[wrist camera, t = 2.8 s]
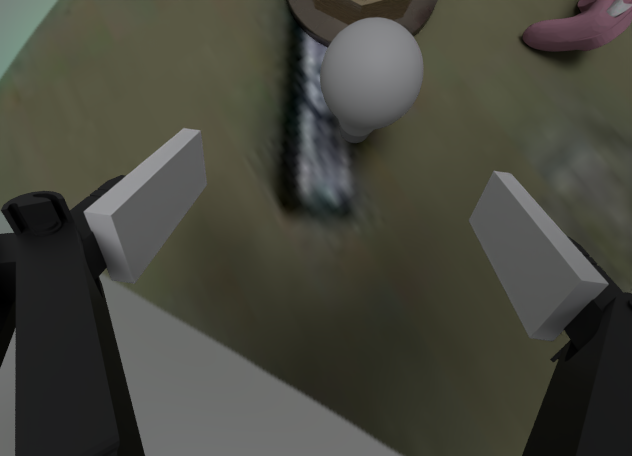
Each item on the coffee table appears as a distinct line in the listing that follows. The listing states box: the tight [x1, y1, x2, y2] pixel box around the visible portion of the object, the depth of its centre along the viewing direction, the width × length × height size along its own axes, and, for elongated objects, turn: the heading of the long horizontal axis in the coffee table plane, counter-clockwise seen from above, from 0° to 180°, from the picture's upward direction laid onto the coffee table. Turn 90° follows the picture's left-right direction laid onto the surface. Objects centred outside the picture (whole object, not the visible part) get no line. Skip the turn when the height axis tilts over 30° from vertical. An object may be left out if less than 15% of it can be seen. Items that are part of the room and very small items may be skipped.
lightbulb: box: [320, 17, 423, 143], centre depth 22 cm, size 6×6×11 cm
